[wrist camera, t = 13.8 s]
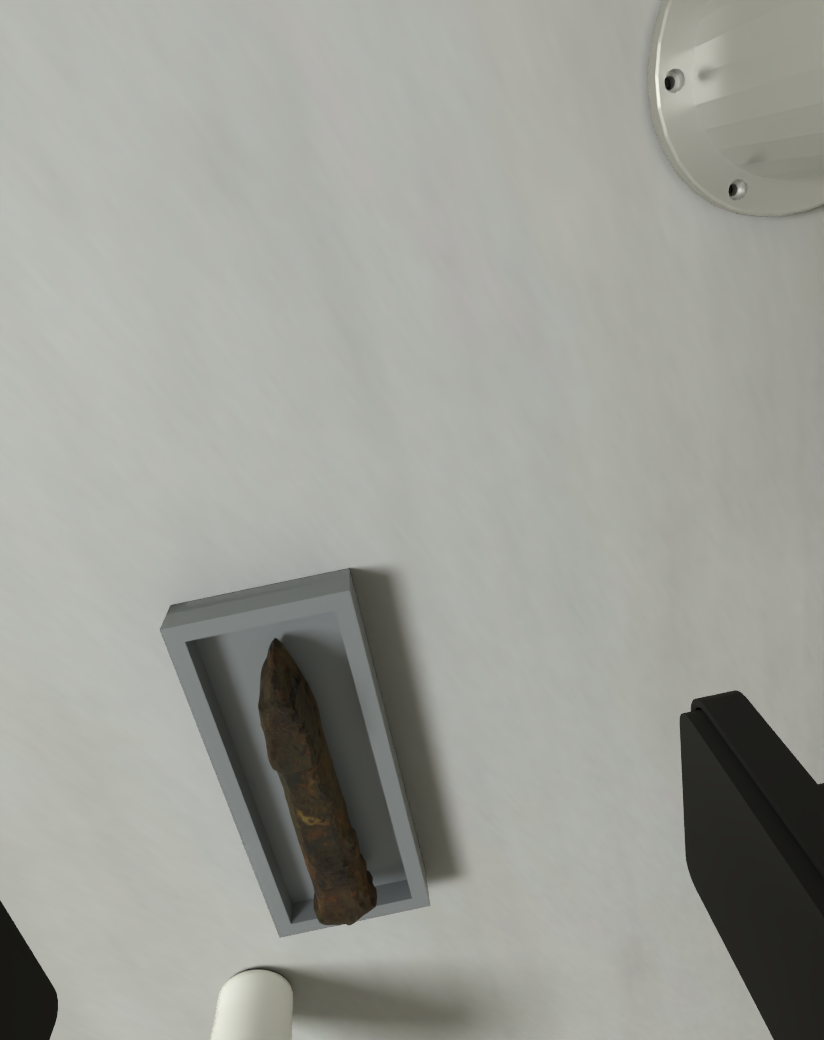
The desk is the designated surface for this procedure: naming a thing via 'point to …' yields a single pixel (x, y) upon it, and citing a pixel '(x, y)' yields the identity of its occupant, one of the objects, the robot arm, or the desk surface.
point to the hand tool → (312, 792)
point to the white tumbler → (254, 1008)
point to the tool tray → (345, 722)
